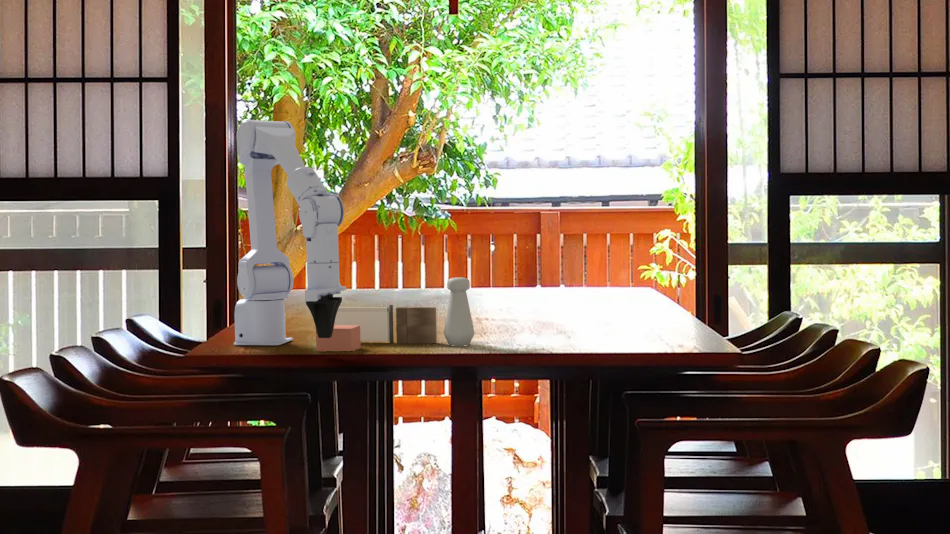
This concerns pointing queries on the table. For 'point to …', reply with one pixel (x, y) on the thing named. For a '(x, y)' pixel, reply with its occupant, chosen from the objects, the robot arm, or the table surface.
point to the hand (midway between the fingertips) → (325, 337)
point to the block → (340, 339)
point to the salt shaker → (458, 314)
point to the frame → (413, 325)
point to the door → (366, 321)
